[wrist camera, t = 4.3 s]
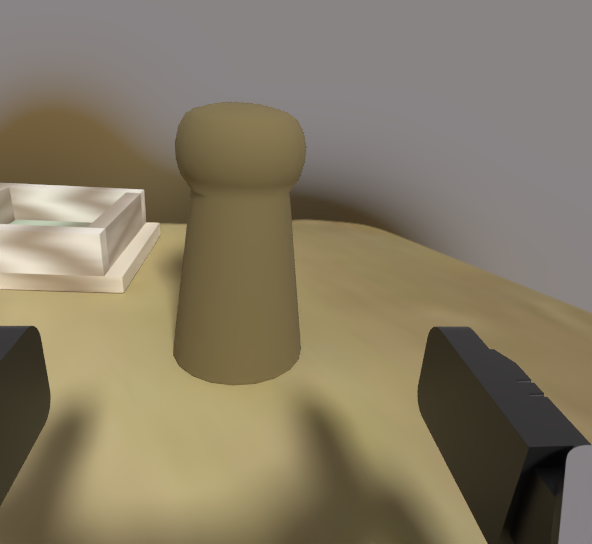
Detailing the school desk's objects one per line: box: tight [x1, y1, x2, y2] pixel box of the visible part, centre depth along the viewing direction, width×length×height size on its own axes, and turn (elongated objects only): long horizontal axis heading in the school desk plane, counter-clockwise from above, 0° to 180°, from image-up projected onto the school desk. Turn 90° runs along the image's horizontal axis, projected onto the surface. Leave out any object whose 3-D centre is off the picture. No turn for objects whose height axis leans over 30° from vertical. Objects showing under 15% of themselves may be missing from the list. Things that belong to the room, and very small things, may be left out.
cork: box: [173, 102, 306, 385], centre depth 21 cm, size 6×6×11 cm
